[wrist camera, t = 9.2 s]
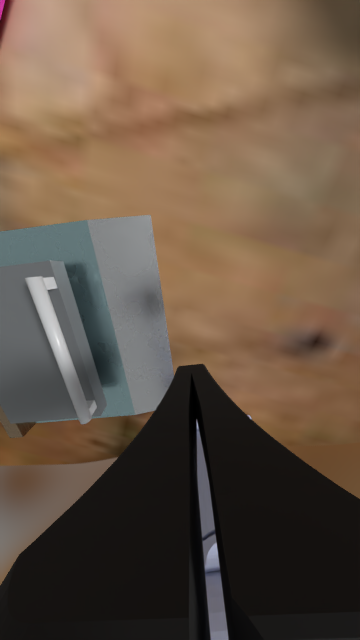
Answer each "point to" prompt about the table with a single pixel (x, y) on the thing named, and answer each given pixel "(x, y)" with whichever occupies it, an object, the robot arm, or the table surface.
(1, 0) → the toy
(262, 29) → the table surface
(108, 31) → the table surface
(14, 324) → the cabinet door with handle
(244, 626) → the robot arm
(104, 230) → the dock bay
